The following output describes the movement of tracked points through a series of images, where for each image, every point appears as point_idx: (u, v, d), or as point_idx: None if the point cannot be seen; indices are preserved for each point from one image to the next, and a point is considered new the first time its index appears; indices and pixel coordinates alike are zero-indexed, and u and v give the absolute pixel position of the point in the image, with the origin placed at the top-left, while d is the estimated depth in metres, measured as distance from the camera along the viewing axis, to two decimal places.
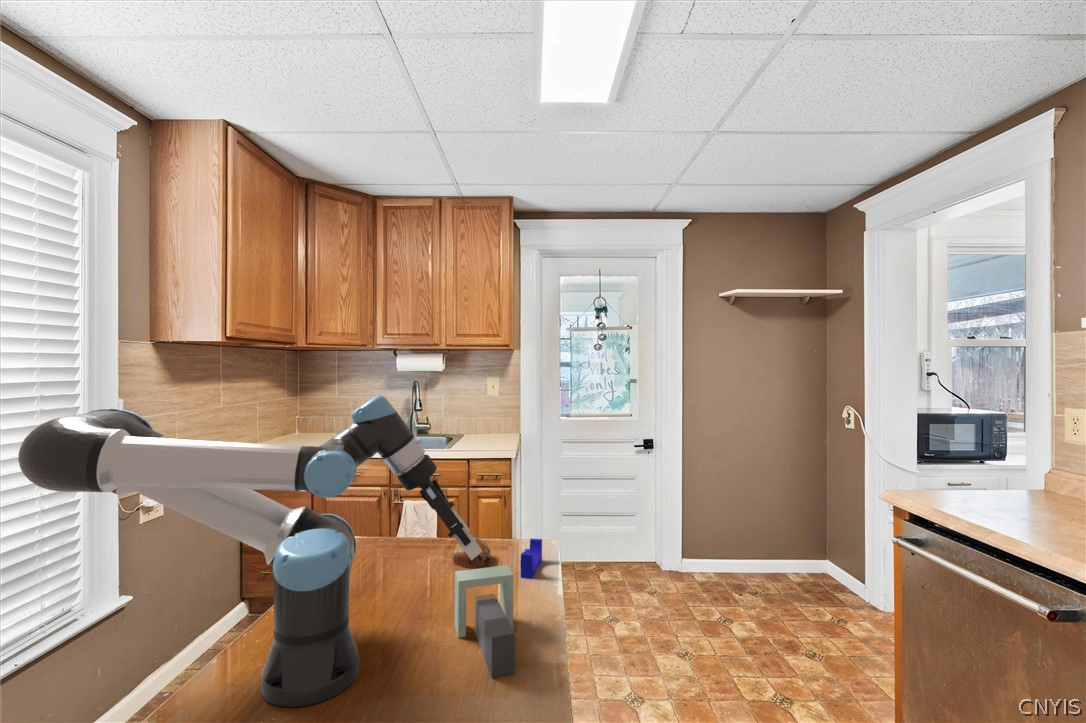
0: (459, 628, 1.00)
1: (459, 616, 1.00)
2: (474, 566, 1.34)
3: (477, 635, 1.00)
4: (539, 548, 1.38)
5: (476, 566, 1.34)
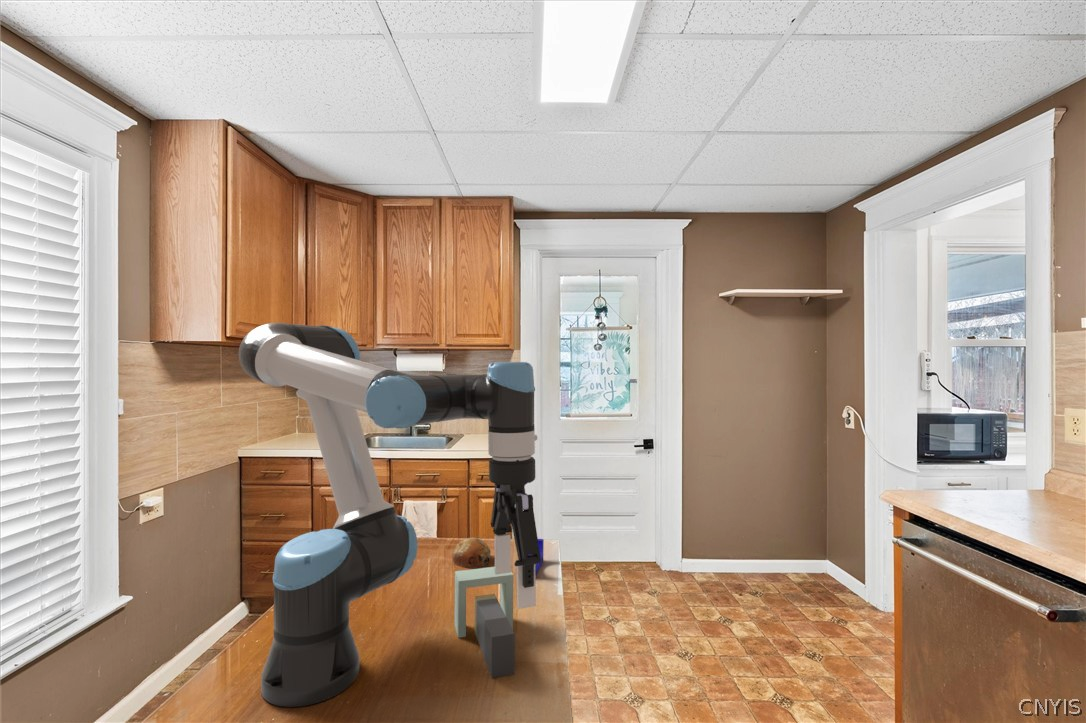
0: (459, 628, 1.00)
1: (459, 616, 1.00)
2: (474, 566, 1.34)
3: (477, 635, 1.00)
4: (541, 548, 1.38)
5: (476, 566, 1.34)
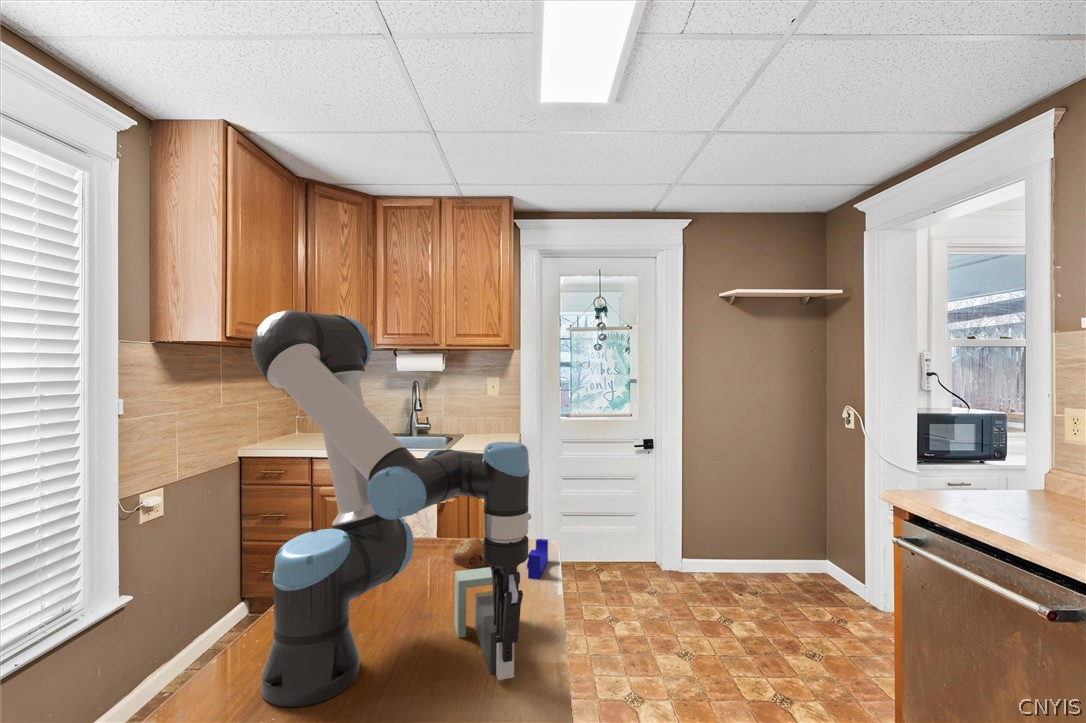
0: (459, 628, 1.00)
1: (459, 616, 1.00)
2: (475, 566, 1.34)
3: (477, 631, 1.01)
4: (545, 548, 1.38)
5: (477, 566, 1.34)
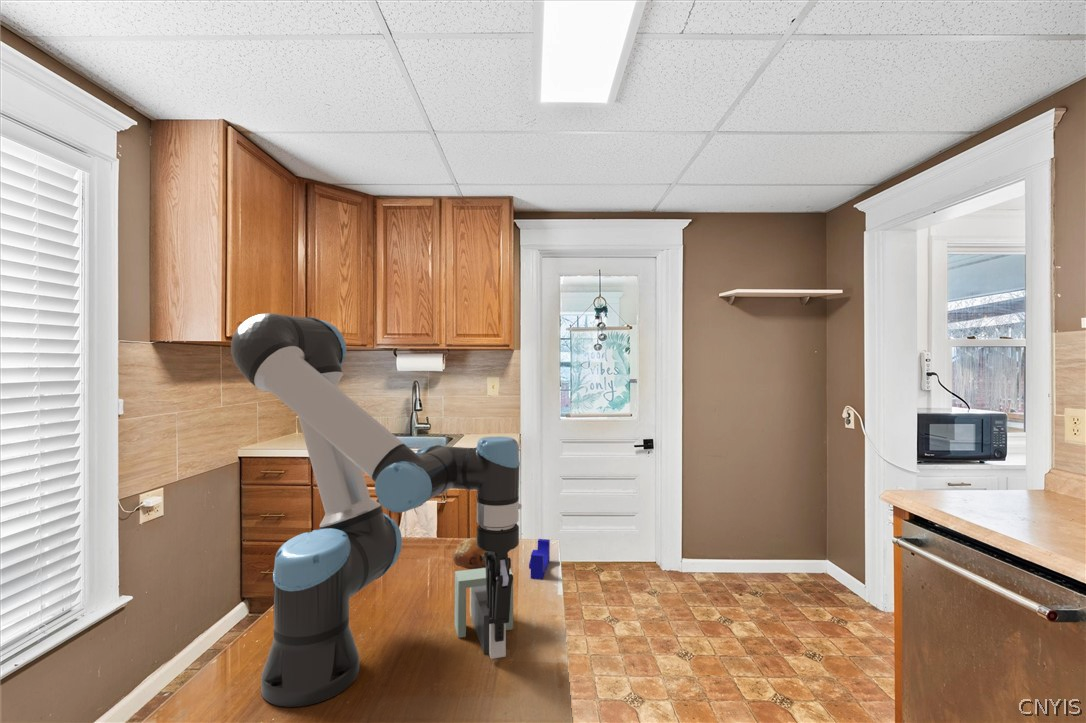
0: (459, 628, 1.00)
1: (459, 616, 1.00)
2: (475, 566, 1.34)
3: (472, 616, 1.07)
4: (547, 548, 1.38)
5: (477, 566, 1.34)
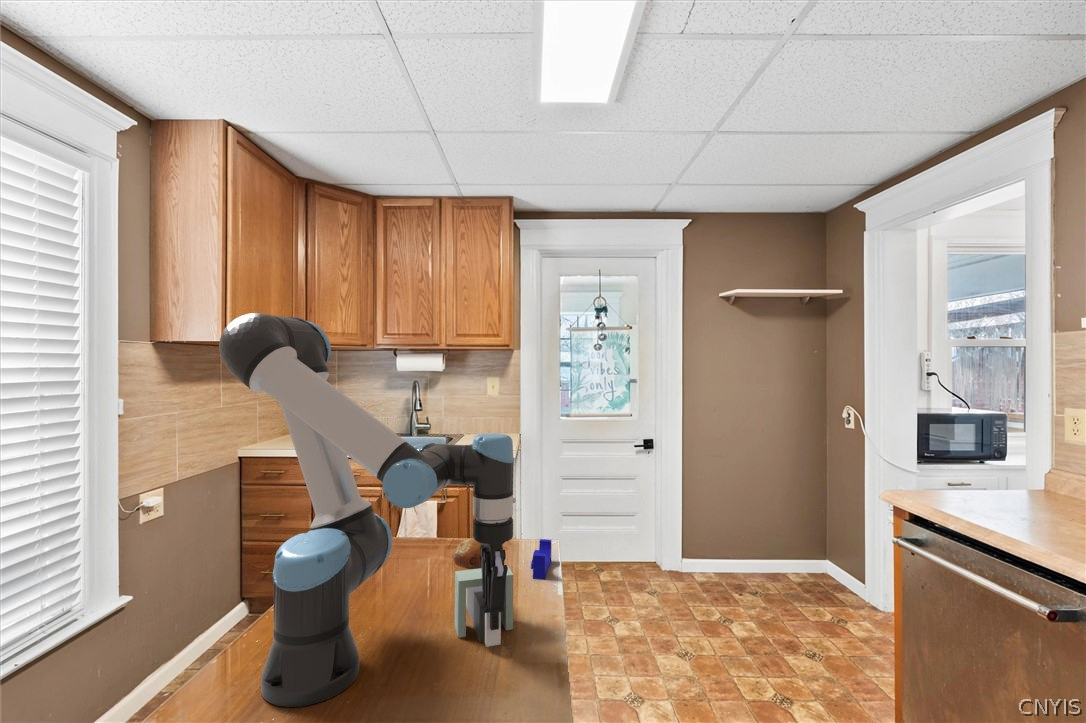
0: (459, 628, 1.00)
1: (459, 616, 1.00)
2: (475, 566, 1.34)
3: (468, 607, 1.11)
4: (549, 549, 1.38)
5: (477, 566, 1.34)
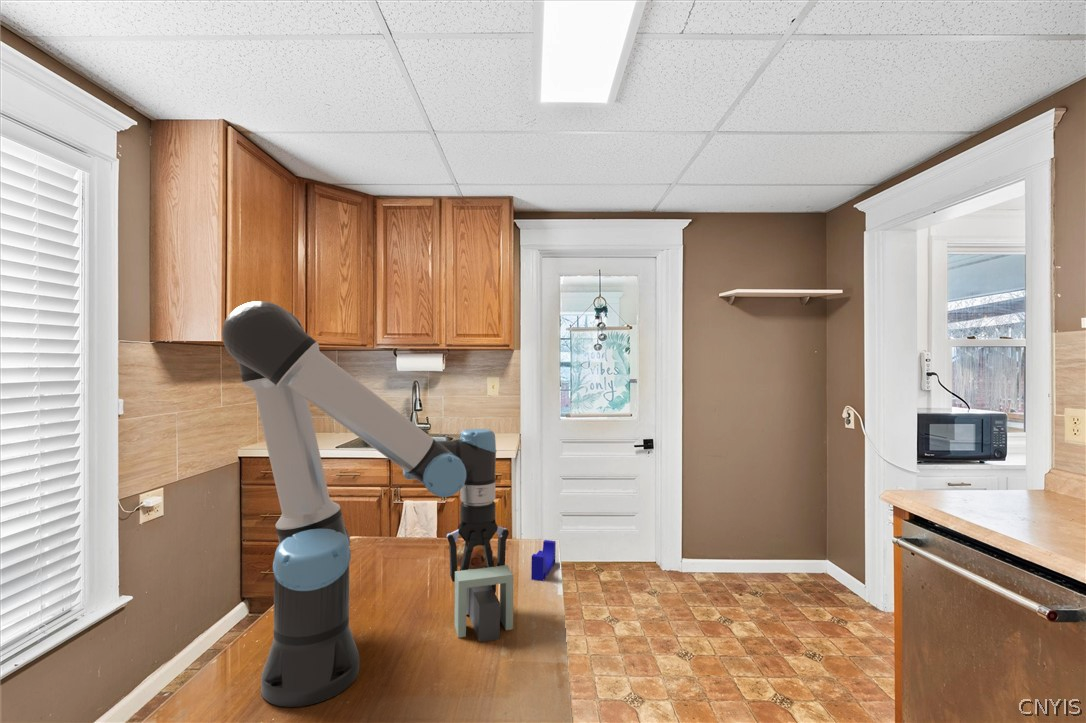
0: (459, 628, 1.00)
1: (459, 616, 1.00)
2: (477, 567, 1.34)
3: None
4: (552, 550, 1.36)
5: (479, 567, 1.34)
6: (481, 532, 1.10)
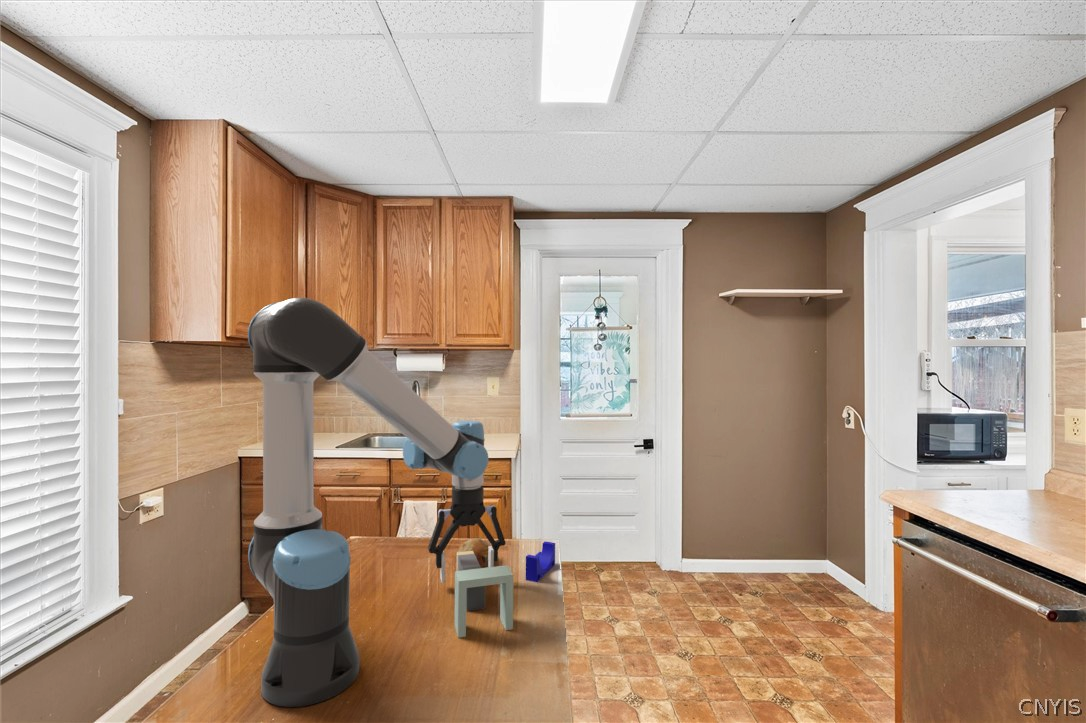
0: (459, 628, 1.00)
1: (459, 616, 1.00)
2: None
3: None
4: (551, 552, 1.35)
5: None
6: (470, 514, 1.22)
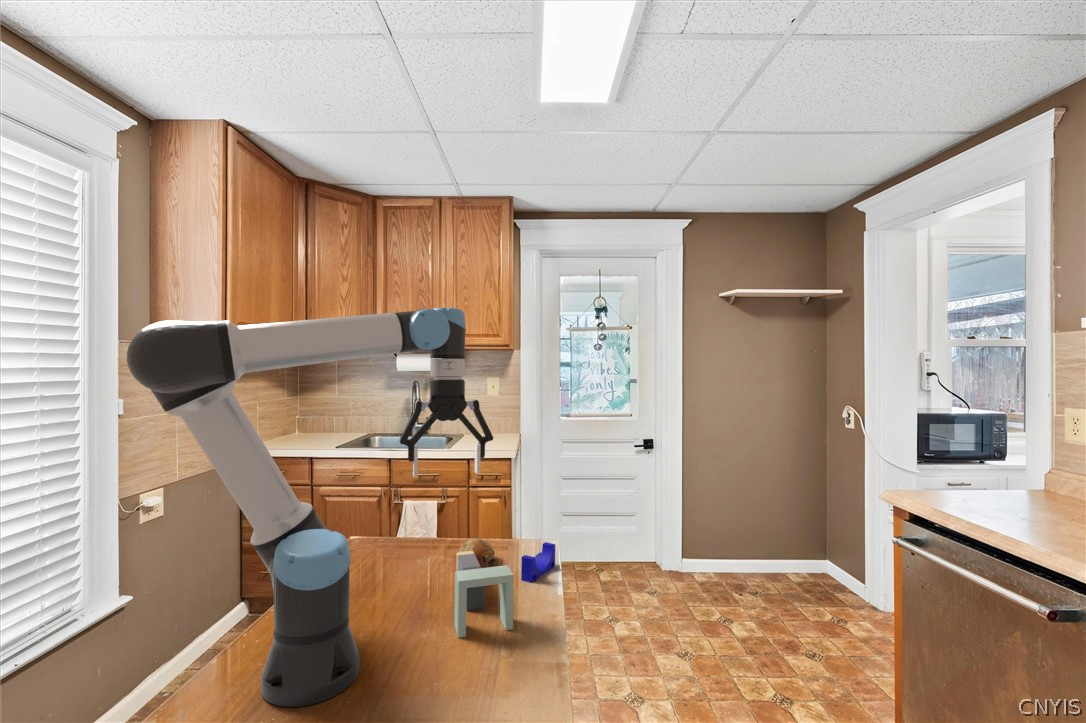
0: (459, 628, 1.00)
1: (459, 616, 1.00)
2: None
3: None
4: (550, 553, 1.35)
5: None
6: (450, 409, 1.13)
